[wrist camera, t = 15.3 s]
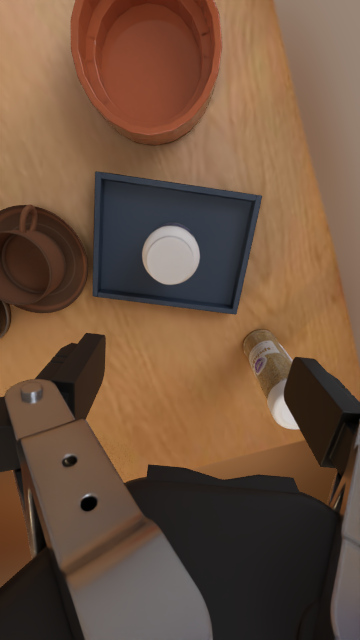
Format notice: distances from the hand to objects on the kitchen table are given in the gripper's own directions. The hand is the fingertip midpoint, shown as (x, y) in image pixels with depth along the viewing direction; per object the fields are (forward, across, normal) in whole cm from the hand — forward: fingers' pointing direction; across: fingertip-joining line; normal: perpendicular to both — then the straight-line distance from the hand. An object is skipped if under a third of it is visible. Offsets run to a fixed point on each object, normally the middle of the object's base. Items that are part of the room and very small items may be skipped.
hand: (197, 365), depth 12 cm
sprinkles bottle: (+24, -11, +9) cm, 28 cm away
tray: (+23, +2, -2) cm, 24 cm away
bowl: (+23, +6, -18) cm, 30 cm away
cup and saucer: (+24, +17, +2) cm, 29 cm away
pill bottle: (+23, +2, -2) cm, 23 cm away
